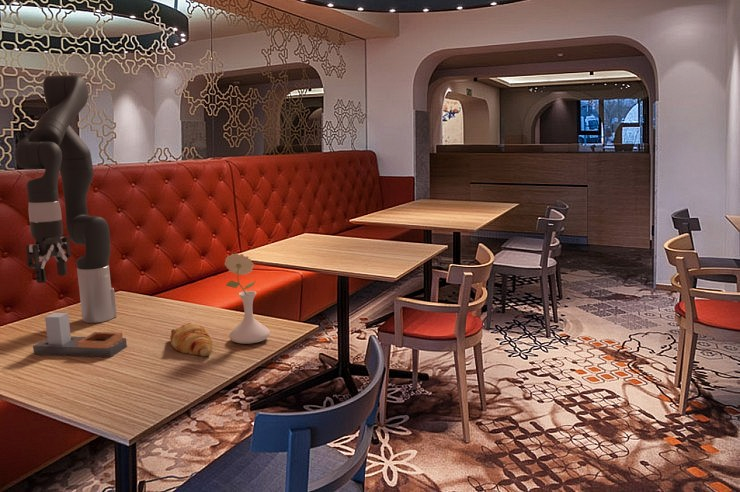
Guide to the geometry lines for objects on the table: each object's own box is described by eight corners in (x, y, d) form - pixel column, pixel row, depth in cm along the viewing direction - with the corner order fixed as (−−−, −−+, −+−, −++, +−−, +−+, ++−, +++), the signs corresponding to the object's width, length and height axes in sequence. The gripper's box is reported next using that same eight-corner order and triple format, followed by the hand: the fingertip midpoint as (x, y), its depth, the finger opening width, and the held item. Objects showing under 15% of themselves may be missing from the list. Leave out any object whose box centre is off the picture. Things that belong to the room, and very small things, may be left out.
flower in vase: (278, 336, 170) (274, 251, 165) (254, 349, 159) (249, 259, 155) (241, 331, 175) (236, 248, 171) (216, 343, 165) (210, 255, 160)
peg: (72, 347, 163) (68, 312, 161) (62, 352, 159) (58, 317, 157) (58, 347, 163) (54, 312, 162) (49, 352, 160) (45, 316, 158)
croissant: (220, 367, 156) (231, 339, 158) (187, 360, 150) (199, 330, 151) (183, 346, 172) (193, 320, 173) (152, 338, 165) (163, 311, 166)
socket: (126, 346, 163) (125, 332, 162) (110, 357, 155) (109, 342, 155) (53, 344, 166) (51, 330, 165) (33, 354, 158) (32, 340, 157)
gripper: (50, 215, 162) (56, 272, 165) (13, 222, 148) (20, 285, 151) (75, 215, 161) (81, 273, 164) (40, 222, 147) (47, 285, 150)
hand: (52, 278), depth 158 cm, fingers open, 8 cm apart
